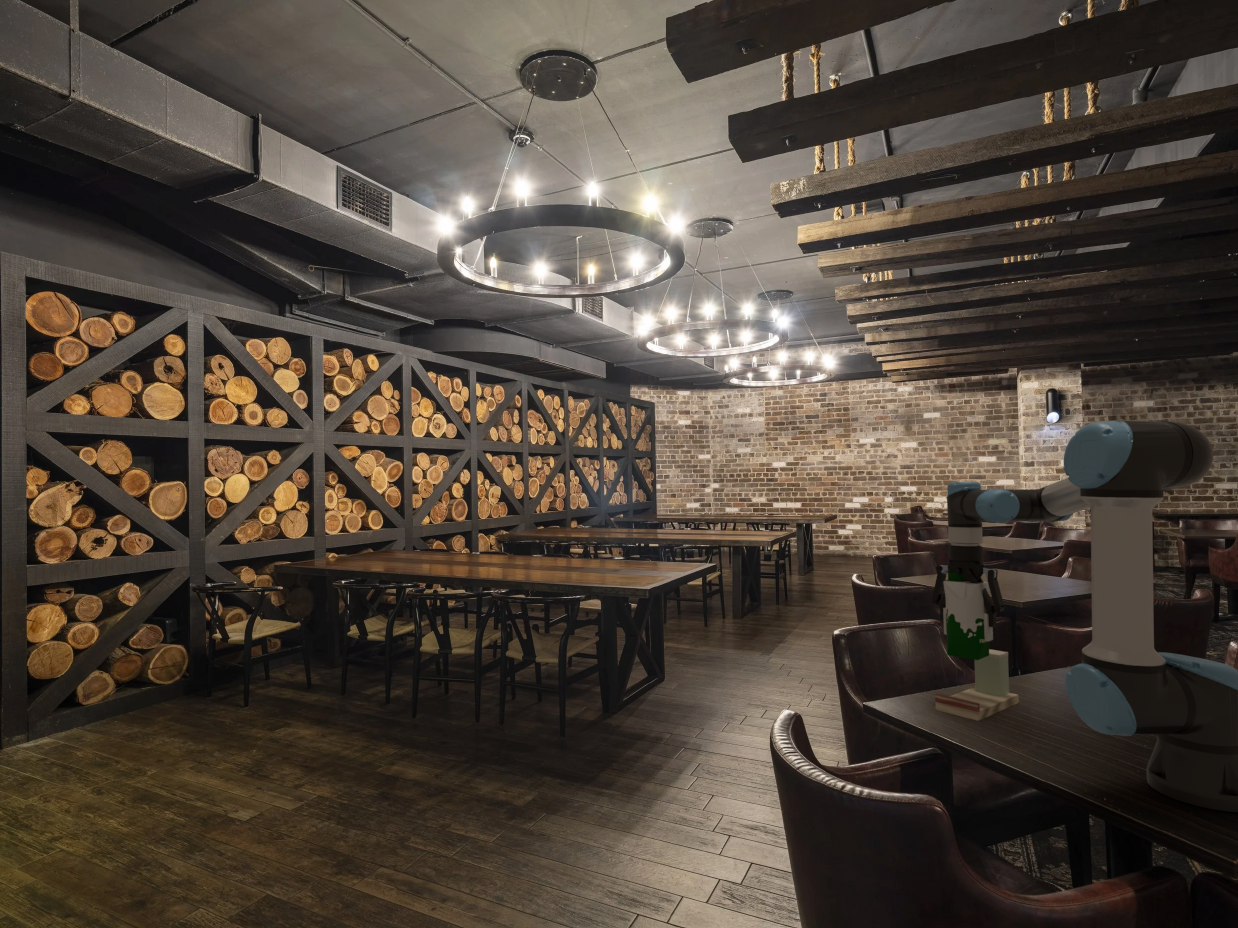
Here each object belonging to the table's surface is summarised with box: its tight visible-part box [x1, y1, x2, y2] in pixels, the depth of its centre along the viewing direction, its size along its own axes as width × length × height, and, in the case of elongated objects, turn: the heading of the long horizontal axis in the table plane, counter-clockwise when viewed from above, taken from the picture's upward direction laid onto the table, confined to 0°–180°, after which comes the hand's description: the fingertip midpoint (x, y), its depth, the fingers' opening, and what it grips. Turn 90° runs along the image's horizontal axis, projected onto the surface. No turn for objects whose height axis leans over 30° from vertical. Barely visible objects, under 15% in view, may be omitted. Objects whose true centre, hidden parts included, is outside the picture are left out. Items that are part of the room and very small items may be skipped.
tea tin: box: [973, 648, 1010, 697], centre depth 168 cm, size 5×6×10 cm
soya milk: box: [943, 571, 991, 660], centre depth 162 cm, size 9×9×20 cm
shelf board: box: [934, 686, 1020, 722], centre depth 163 cm, size 22×10×4 cm, turn 128°
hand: (967, 636), depth 161 cm, fingers closed on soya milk, 9 cm apart
